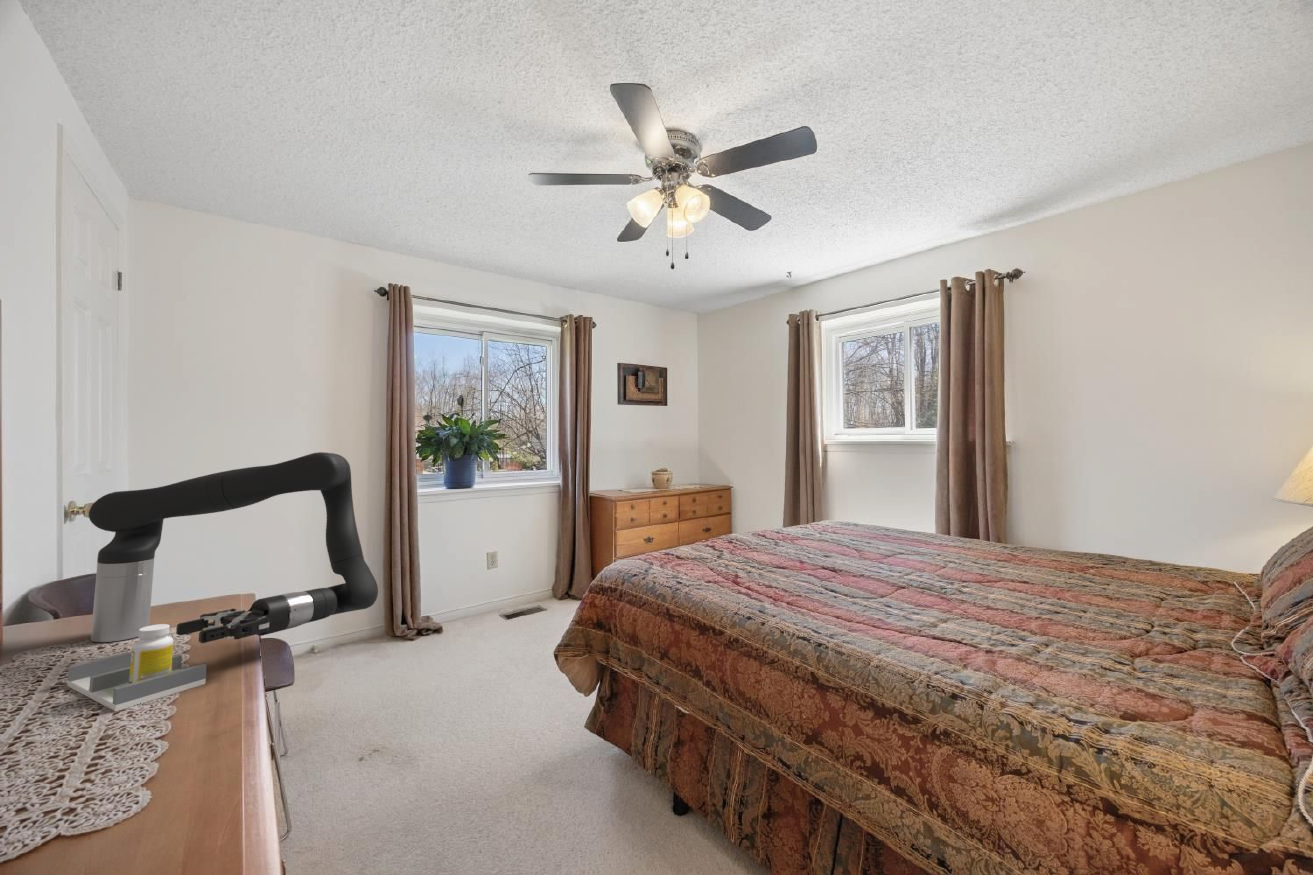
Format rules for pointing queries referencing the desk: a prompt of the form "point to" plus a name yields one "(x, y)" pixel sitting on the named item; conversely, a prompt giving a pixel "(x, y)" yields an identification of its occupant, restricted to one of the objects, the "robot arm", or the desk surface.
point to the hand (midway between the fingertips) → (188, 633)
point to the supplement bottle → (151, 653)
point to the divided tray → (112, 685)
